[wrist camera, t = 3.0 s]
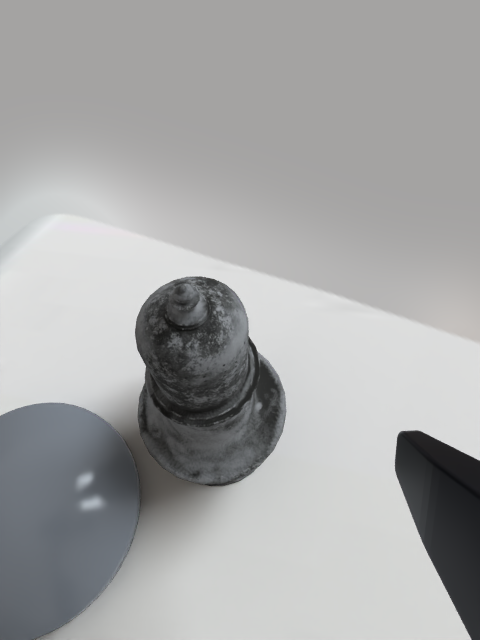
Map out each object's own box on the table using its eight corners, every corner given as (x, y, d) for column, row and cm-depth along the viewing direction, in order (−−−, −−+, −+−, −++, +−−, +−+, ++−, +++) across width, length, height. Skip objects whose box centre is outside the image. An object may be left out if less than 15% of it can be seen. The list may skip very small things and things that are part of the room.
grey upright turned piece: (129, 439, 18) (-25, 313, 8) (207, 347, 21) (168, 153, 10) (229, 523, 17) (203, 505, 6) (303, 412, 19) (375, 260, 8)
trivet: (-48, 700, 14) (-63, 709, 13) (-92, 473, 18) (-105, 470, 17) (176, 549, 16) (172, 550, 16) (95, 374, 20) (89, 368, 19)
